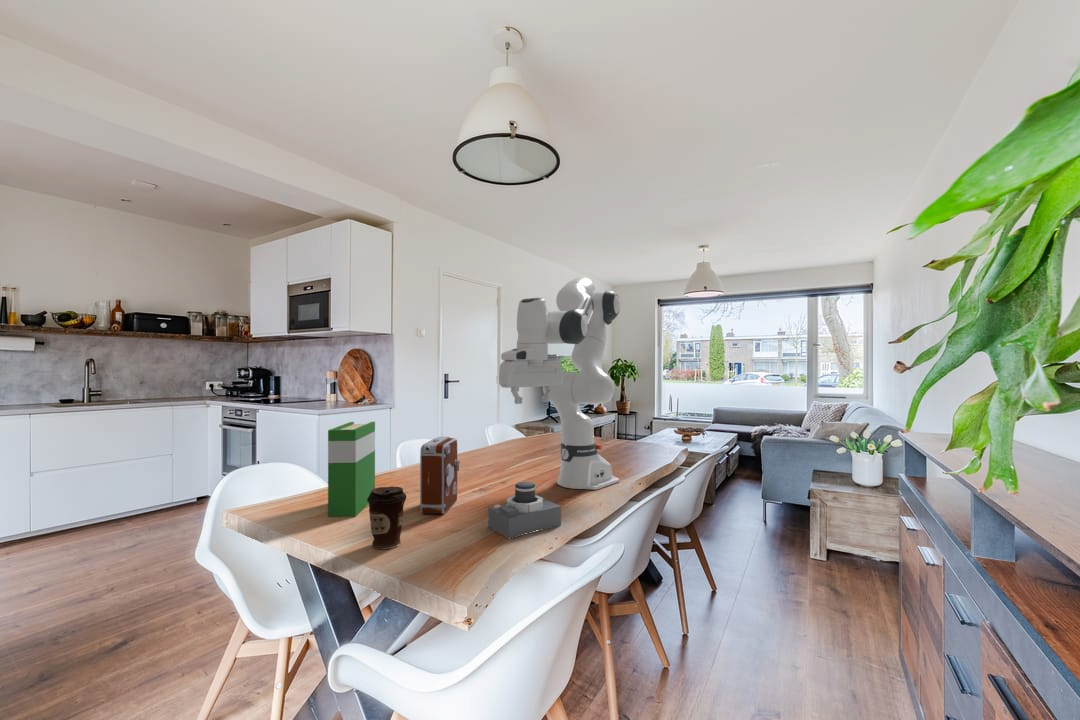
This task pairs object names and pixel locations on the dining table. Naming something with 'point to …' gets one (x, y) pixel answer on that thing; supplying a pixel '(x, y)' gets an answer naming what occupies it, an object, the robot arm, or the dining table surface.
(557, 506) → the camera body
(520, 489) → the lens
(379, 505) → the coffee cup
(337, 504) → the hardback book
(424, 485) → the cine camera
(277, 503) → the dining table surface
